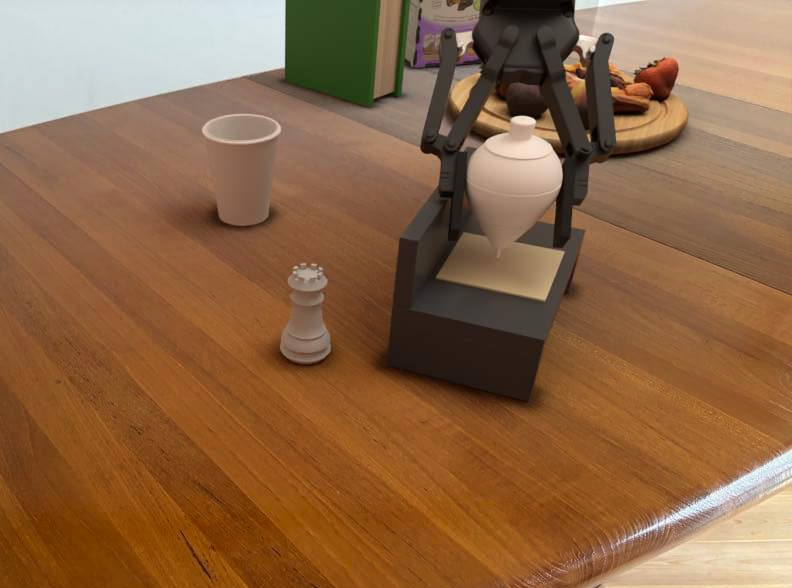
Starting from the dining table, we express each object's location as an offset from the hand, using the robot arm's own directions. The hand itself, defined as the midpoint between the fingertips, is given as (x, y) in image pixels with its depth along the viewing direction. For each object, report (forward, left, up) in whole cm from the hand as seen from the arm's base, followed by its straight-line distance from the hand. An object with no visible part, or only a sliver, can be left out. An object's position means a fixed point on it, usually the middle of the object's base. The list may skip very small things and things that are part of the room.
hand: (507, 238), depth 66 cm
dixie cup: (+31, -14, -10) cm, 36 cm away
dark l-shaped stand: (+1, -3, -10) cm, 11 cm away
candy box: (+26, -80, -10) cm, 85 cm away
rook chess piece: (+14, +8, -10) cm, 19 cm away
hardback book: (+37, -60, -10) cm, 71 cm away
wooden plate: (+4, -61, -10) cm, 62 cm away
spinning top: (+1, -3, -4) cm, 5 cm away
